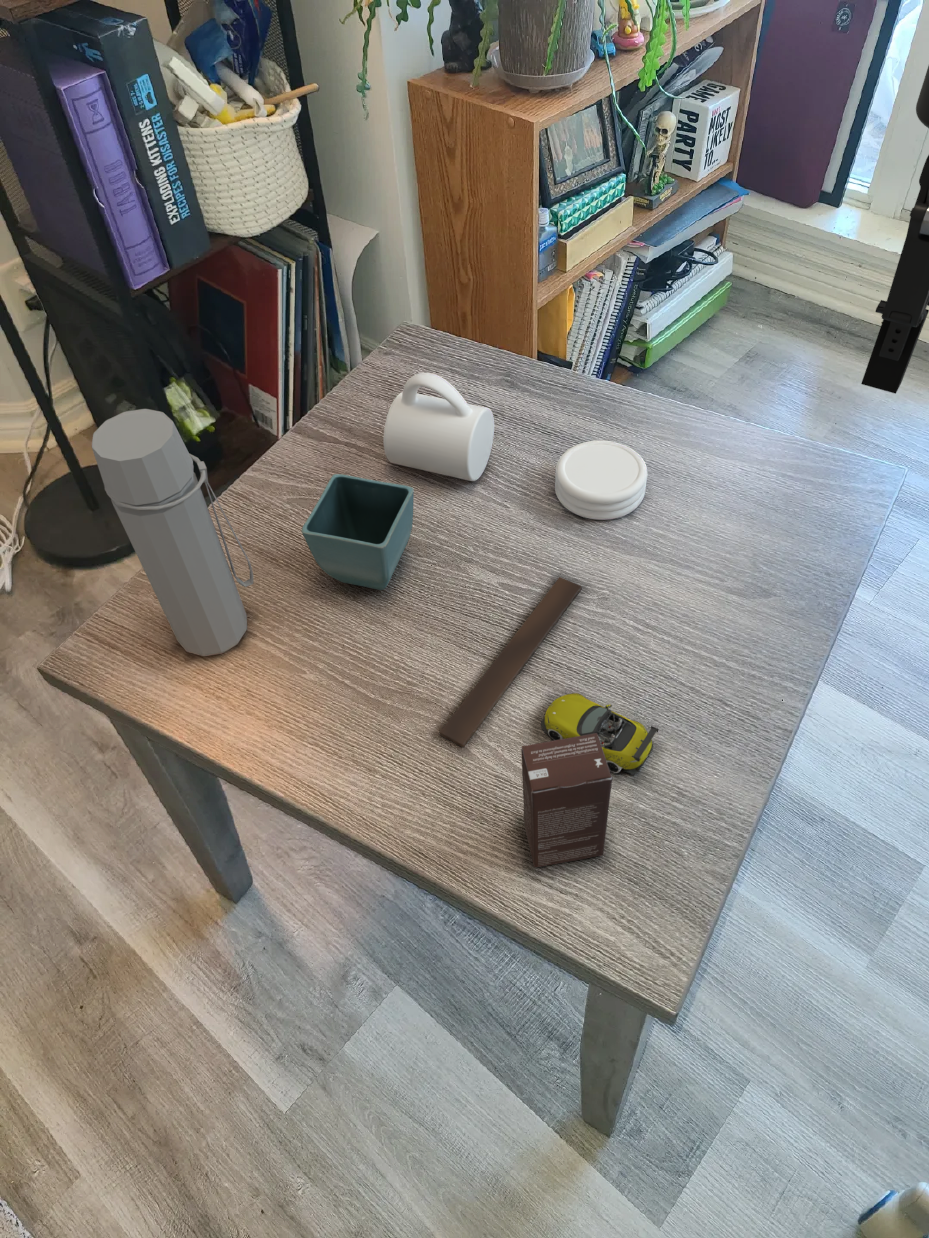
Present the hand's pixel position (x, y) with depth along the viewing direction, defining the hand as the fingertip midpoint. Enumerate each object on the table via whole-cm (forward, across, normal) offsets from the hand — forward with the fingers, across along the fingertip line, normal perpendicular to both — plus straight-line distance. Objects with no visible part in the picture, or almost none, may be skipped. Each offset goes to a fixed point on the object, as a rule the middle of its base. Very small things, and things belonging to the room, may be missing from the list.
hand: (881, 383), depth 71 cm
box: (+24, +37, -8) cm, 45 cm away
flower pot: (+24, +20, -40) cm, 51 cm away
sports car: (+24, +26, -10) cm, 37 cm away
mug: (+24, +2, -42) cm, 49 cm away
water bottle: (+24, +34, -48) cm, 64 cm away
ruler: (+24, +22, -21) cm, 39 cm away
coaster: (+24, -2, -24) cm, 35 cm away
